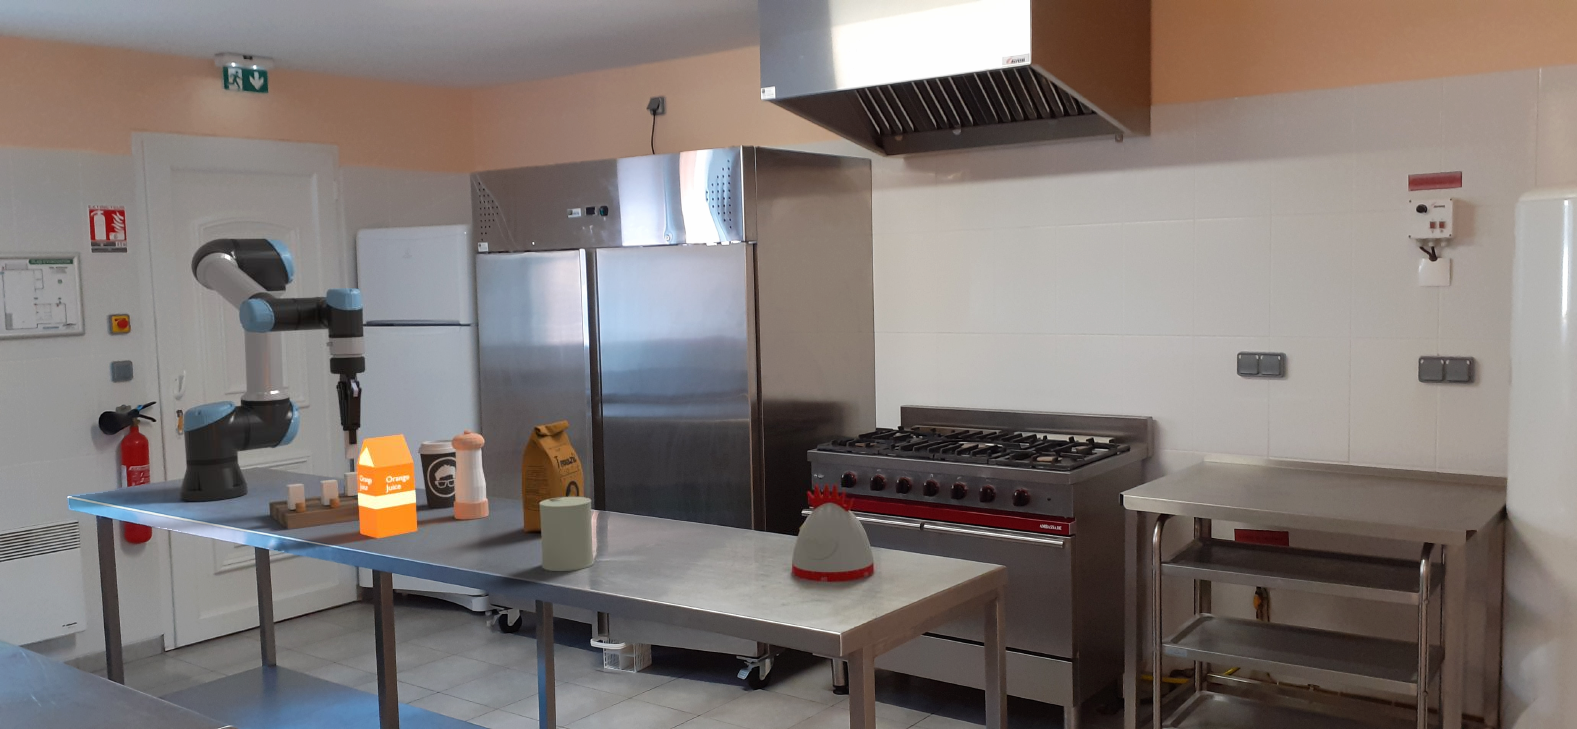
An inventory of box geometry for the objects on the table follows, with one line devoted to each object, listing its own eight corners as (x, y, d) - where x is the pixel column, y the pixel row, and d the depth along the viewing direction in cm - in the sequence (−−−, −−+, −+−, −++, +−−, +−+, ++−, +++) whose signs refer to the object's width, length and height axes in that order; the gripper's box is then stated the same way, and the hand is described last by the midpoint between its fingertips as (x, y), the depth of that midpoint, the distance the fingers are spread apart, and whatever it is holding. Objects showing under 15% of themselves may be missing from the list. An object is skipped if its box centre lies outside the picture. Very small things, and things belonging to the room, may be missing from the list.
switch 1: (287, 507, 247) (286, 485, 246) (302, 505, 248) (301, 483, 248) (290, 509, 244) (289, 486, 244) (305, 507, 246) (304, 485, 246)
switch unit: (270, 515, 256) (268, 493, 256) (360, 503, 268) (359, 482, 268) (288, 529, 240) (287, 506, 240) (384, 516, 252) (383, 494, 251)
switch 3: (345, 494, 262) (343, 473, 261) (358, 492, 263) (357, 471, 263) (348, 496, 259) (347, 474, 259) (361, 494, 261) (360, 473, 260)
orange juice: (359, 533, 234) (354, 438, 233) (399, 526, 240) (394, 433, 239) (378, 538, 229) (372, 440, 227) (418, 530, 235) (413, 435, 234)
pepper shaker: (447, 518, 247) (443, 431, 245) (468, 512, 253) (464, 427, 252) (474, 520, 244) (470, 432, 243) (495, 513, 251) (491, 428, 249)
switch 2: (321, 503, 251) (320, 481, 251) (335, 501, 253) (334, 479, 252) (324, 505, 248) (323, 482, 248) (338, 503, 250) (337, 481, 250)
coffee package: (593, 523, 237) (588, 420, 235) (555, 536, 226) (550, 427, 224) (555, 520, 241) (551, 418, 240) (516, 532, 230) (511, 425, 229)
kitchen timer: (810, 559, 201) (808, 475, 200) (884, 564, 196) (882, 478, 195) (780, 578, 188) (777, 489, 187) (857, 584, 183) (855, 493, 182)
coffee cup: (469, 501, 266) (466, 438, 265) (454, 509, 257) (450, 444, 256) (431, 502, 267) (427, 439, 266) (413, 510, 258) (410, 445, 257)
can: (571, 556, 208) (568, 492, 207) (604, 562, 202) (602, 496, 202) (531, 566, 201) (528, 500, 200) (564, 574, 195) (561, 505, 194)
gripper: (323, 355, 261) (328, 456, 263) (337, 358, 250) (342, 463, 252) (356, 353, 265) (361, 452, 267) (371, 356, 254) (376, 459, 256)
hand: (352, 457), depth 259 cm, fingers closed
